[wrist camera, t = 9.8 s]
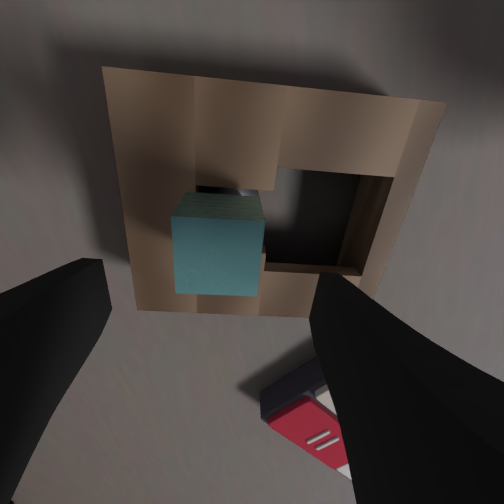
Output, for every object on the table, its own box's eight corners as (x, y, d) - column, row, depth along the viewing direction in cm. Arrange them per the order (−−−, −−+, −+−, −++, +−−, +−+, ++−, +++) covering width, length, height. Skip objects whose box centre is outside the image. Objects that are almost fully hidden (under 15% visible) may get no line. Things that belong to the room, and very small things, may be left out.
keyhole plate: (398, 103, 15) (447, 102, 11) (344, 283, 20) (365, 320, 17) (137, 76, 14) (101, 66, 10) (155, 273, 19) (137, 310, 16)
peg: (261, 166, 16) (278, 211, 9) (255, 228, 18) (265, 304, 11) (193, 161, 16) (157, 204, 9) (194, 224, 18) (165, 301, 11)
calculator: (366, 365, 20) (456, 450, 25) (348, 326, 24) (429, 406, 29) (258, 427, 24) (356, 491, 28) (257, 384, 27) (343, 447, 32)
